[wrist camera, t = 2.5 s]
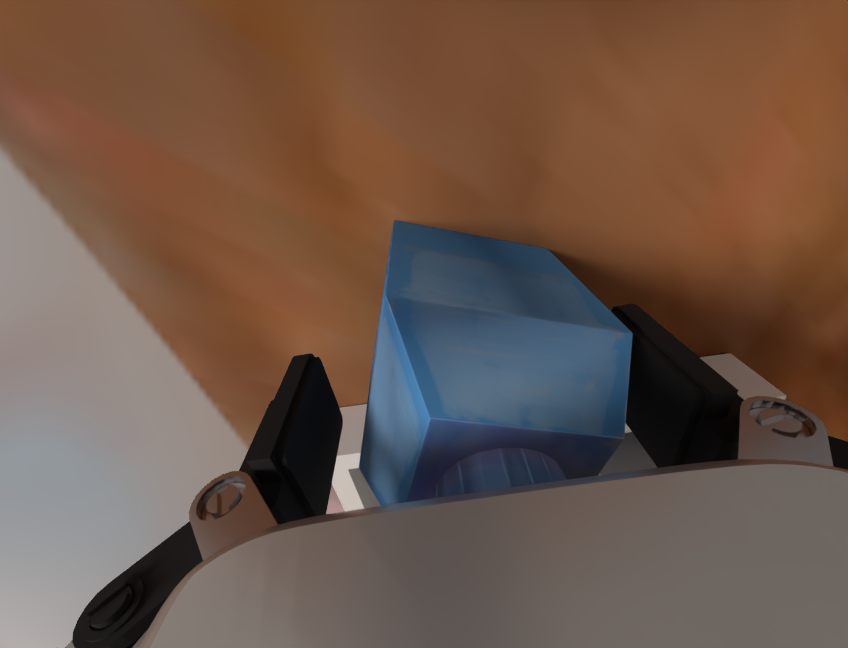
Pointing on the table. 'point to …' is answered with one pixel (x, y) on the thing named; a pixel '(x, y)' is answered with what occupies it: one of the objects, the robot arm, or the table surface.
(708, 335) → the table surface
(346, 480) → the socket strip
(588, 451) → the perfume bottle
